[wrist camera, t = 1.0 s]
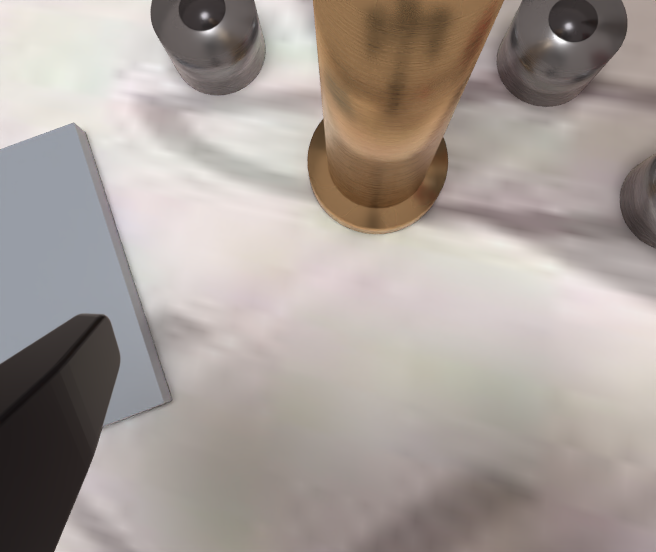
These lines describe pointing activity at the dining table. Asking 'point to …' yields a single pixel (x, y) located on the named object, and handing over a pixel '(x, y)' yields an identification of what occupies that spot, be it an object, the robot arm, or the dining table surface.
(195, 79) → the spacer
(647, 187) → the cylinder
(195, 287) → the dining table surface
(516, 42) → the cylinder
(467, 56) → the disc
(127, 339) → the slate pad
